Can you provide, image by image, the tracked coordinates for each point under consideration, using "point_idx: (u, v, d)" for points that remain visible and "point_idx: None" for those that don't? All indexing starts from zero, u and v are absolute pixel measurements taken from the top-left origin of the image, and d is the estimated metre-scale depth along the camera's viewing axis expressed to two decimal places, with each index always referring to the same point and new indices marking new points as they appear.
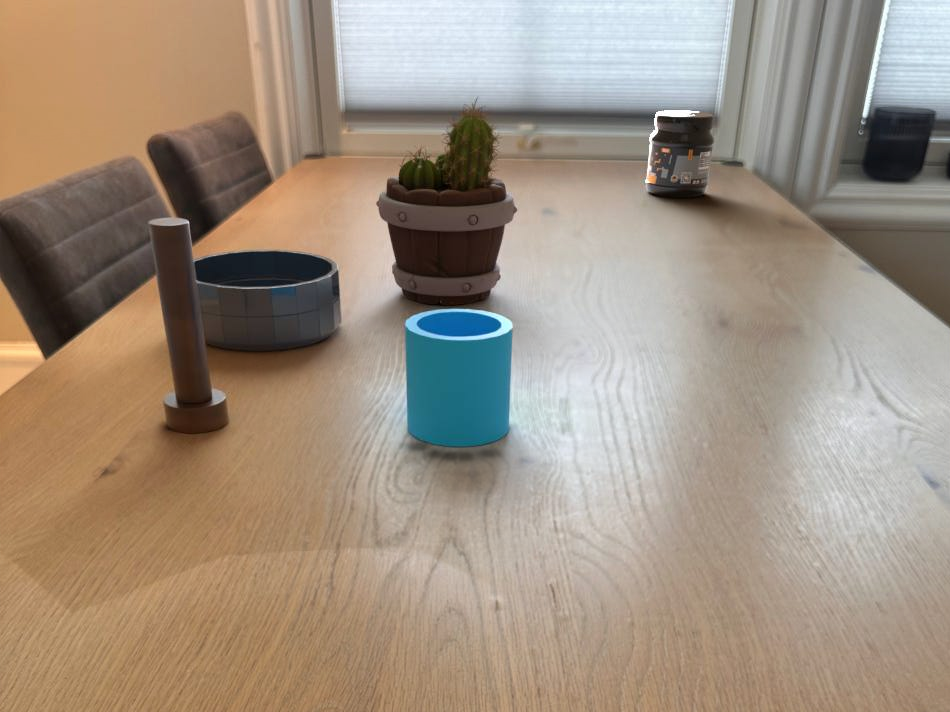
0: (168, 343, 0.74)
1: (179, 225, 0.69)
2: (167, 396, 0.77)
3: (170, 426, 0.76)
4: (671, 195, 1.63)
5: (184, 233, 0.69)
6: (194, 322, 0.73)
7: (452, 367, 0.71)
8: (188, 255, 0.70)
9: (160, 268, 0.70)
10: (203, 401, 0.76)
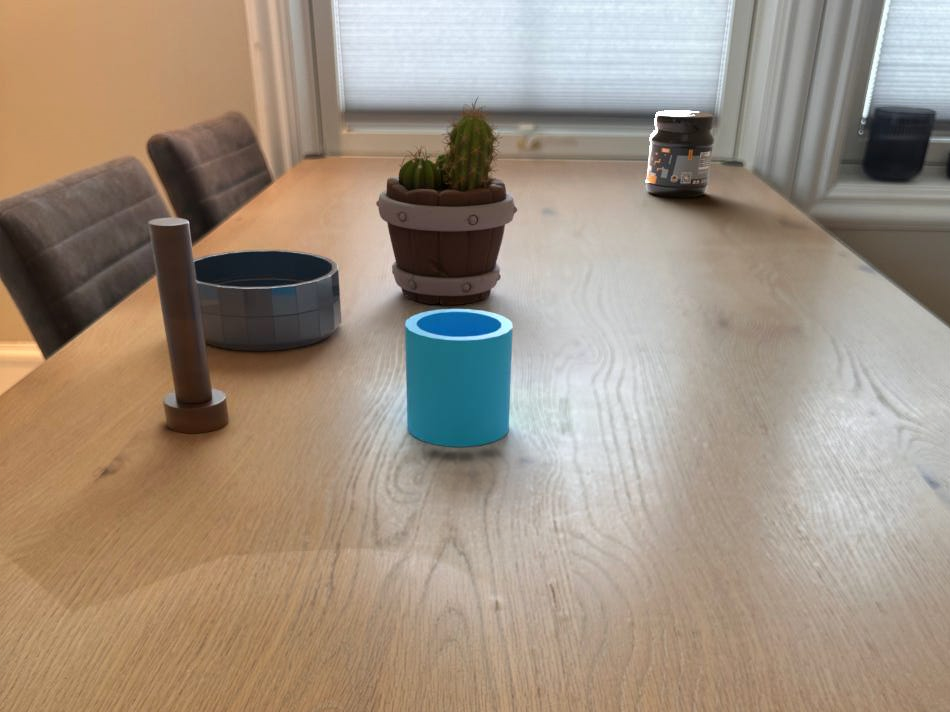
0: (168, 343, 0.74)
1: (179, 225, 0.69)
2: (167, 396, 0.77)
3: (170, 426, 0.76)
4: (671, 195, 1.63)
5: (184, 233, 0.69)
6: (194, 322, 0.73)
7: (451, 367, 0.71)
8: (188, 255, 0.70)
9: (160, 268, 0.70)
10: (203, 401, 0.76)
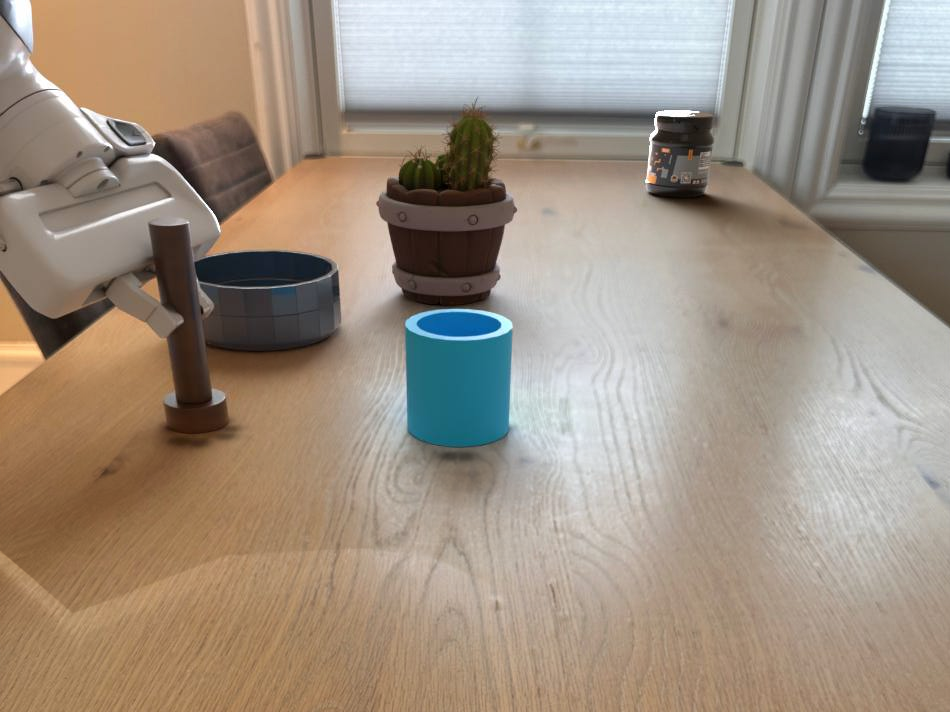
0: (168, 343, 0.74)
1: (179, 225, 0.69)
2: (167, 396, 0.77)
3: (170, 426, 0.76)
4: (671, 195, 1.63)
5: (183, 232, 0.69)
6: (194, 322, 0.73)
7: (451, 367, 0.71)
8: (188, 255, 0.70)
9: (160, 268, 0.70)
10: (203, 401, 0.76)
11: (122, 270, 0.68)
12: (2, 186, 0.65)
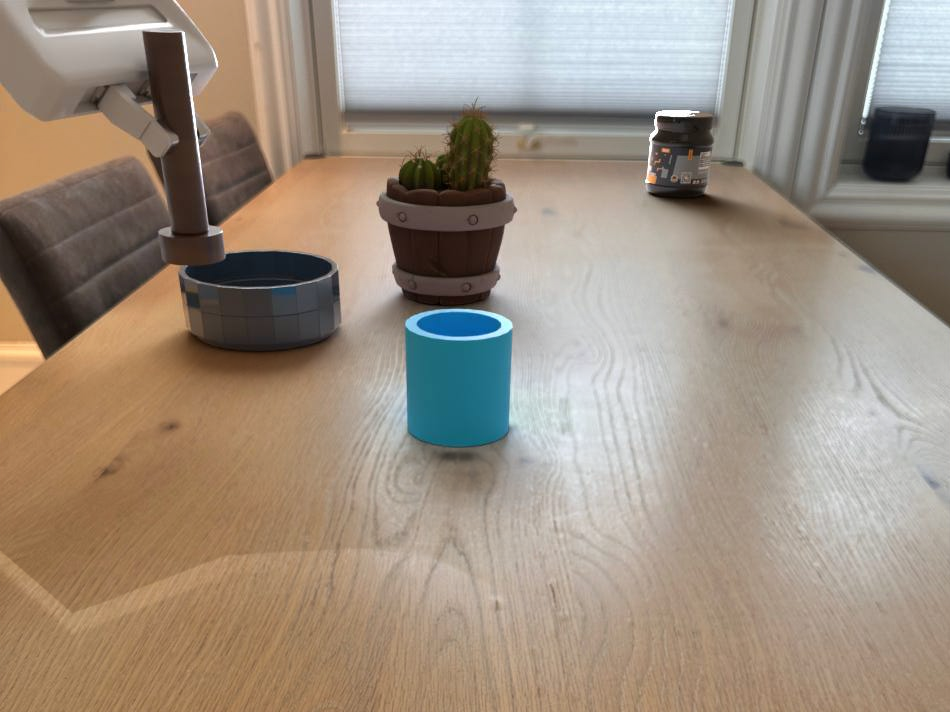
0: (163, 167, 0.71)
1: (174, 33, 0.67)
2: (162, 229, 0.75)
3: (165, 259, 0.74)
4: (671, 195, 1.63)
5: (179, 42, 0.67)
6: (190, 143, 0.70)
7: (451, 367, 0.71)
8: (183, 67, 0.68)
9: (154, 81, 0.68)
10: (199, 232, 0.74)
11: (115, 78, 0.66)
12: None
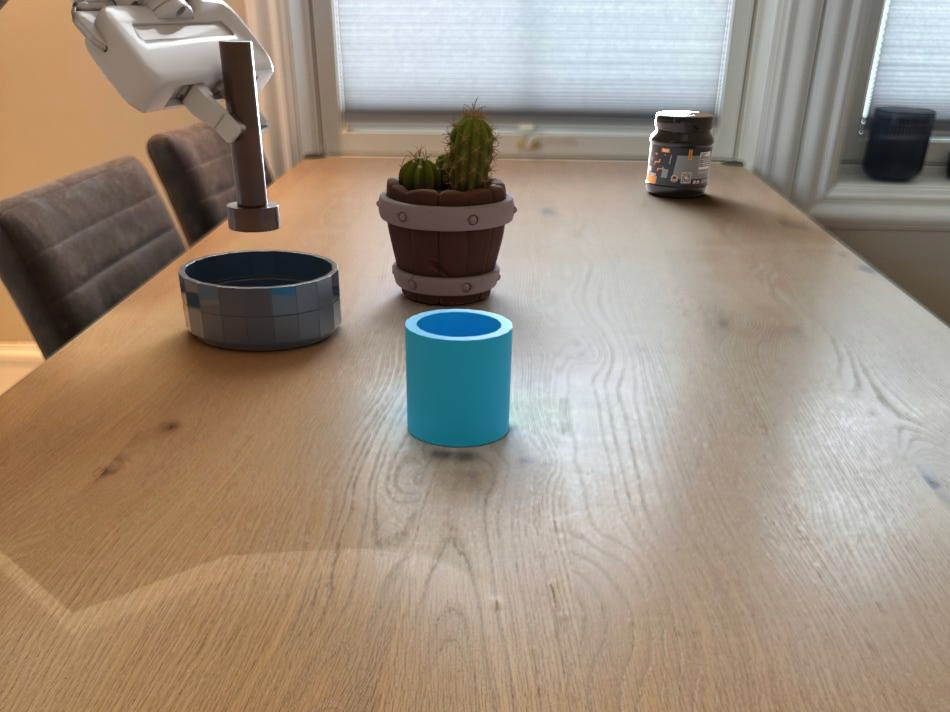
0: (232, 151, 0.88)
1: (245, 42, 0.83)
2: (229, 203, 0.91)
3: (232, 227, 0.90)
4: (671, 195, 1.63)
5: (248, 49, 0.83)
6: (255, 131, 0.87)
7: (451, 367, 0.71)
8: (251, 70, 0.84)
9: (228, 81, 0.84)
10: (260, 205, 0.90)
11: (197, 78, 0.82)
12: (102, 3, 0.80)
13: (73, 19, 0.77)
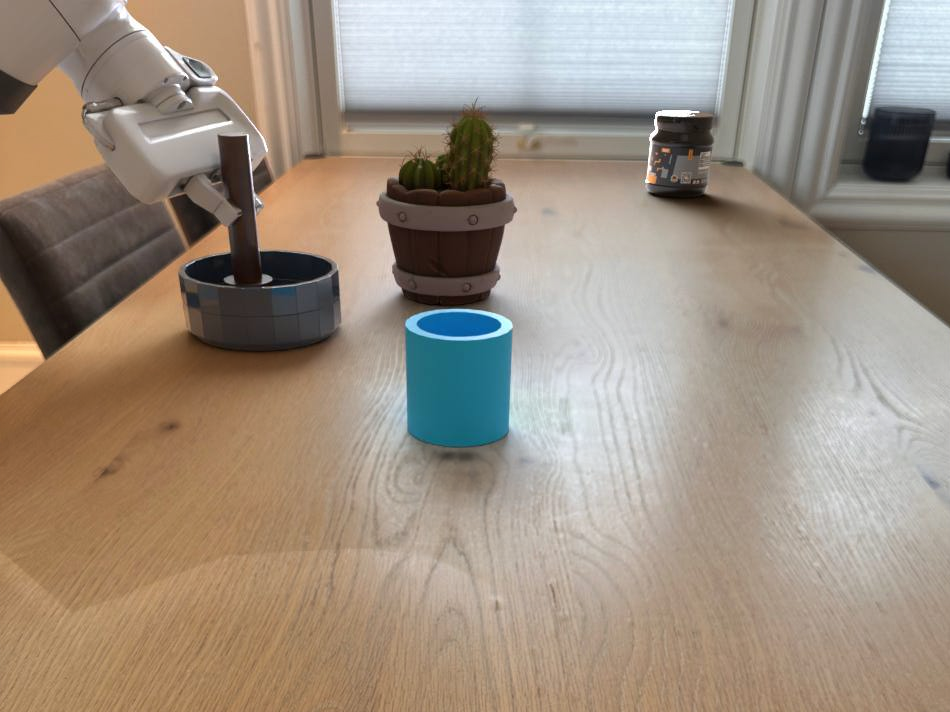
0: (229, 232, 0.94)
1: (241, 136, 0.90)
2: (226, 278, 0.98)
3: None
4: (671, 195, 1.63)
5: (245, 142, 0.90)
6: (250, 215, 0.93)
7: (452, 367, 0.71)
8: (247, 160, 0.91)
9: (226, 170, 0.91)
10: (255, 280, 0.97)
11: (198, 170, 0.89)
12: (109, 103, 0.86)
13: (83, 121, 0.83)
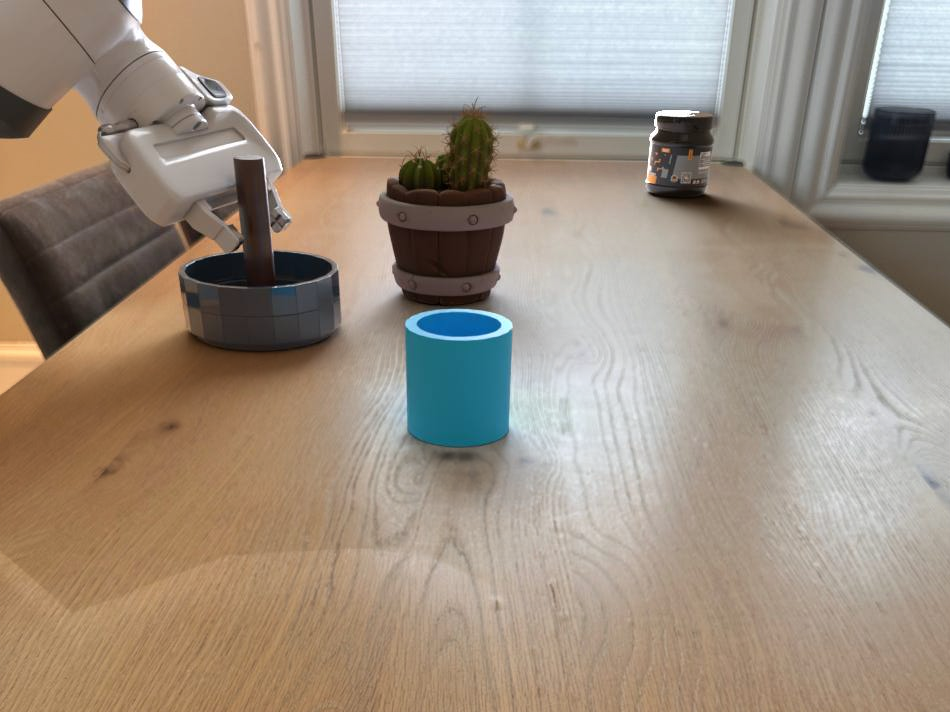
0: (245, 255, 0.93)
1: (257, 159, 0.89)
2: None
3: None
4: (671, 195, 1.63)
5: (260, 165, 0.89)
6: (266, 238, 0.93)
7: (451, 367, 0.71)
8: (263, 183, 0.90)
9: (241, 194, 0.90)
10: None
11: (213, 191, 0.88)
12: (124, 124, 0.85)
13: (99, 144, 0.83)
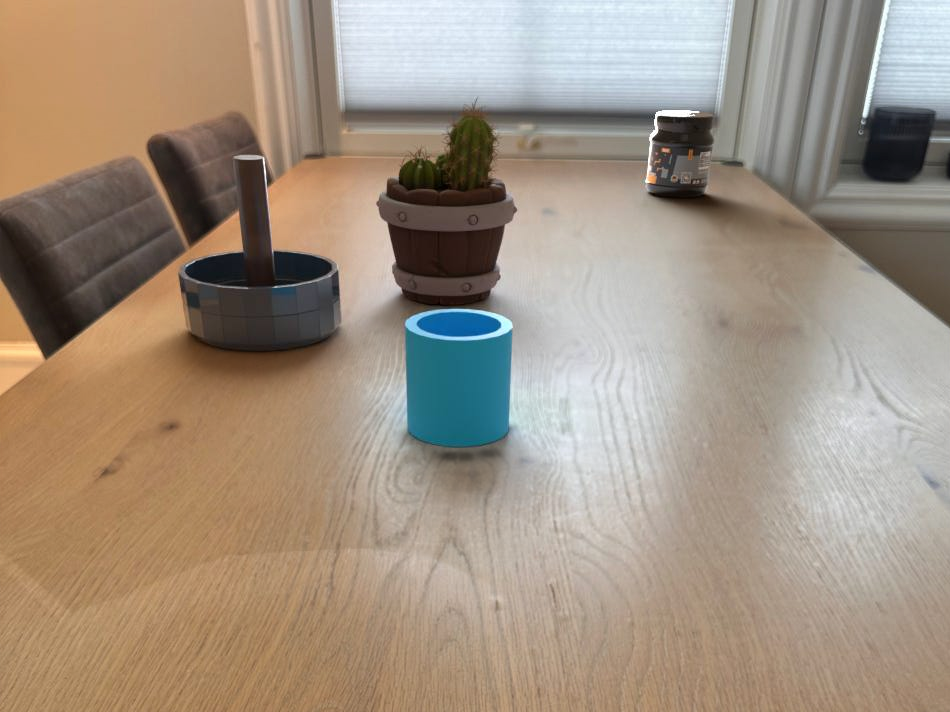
0: (245, 255, 0.93)
1: (257, 159, 0.89)
2: None
3: None
4: (671, 195, 1.63)
5: (260, 165, 0.89)
6: (266, 238, 0.93)
7: (451, 367, 0.71)
8: (263, 183, 0.90)
9: (241, 194, 0.90)
10: None
11: None
12: None
13: None
